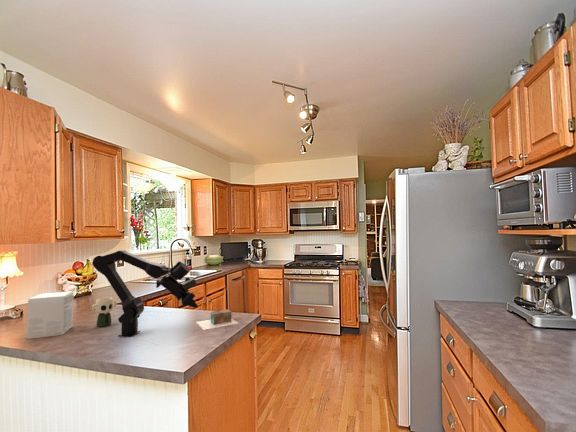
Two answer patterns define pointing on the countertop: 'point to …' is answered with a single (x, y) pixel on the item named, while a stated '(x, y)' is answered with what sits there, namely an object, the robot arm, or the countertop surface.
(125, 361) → the countertop surface
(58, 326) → the supplement box
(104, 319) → the big eyed figurine
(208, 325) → the cream board
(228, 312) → the walnut block
